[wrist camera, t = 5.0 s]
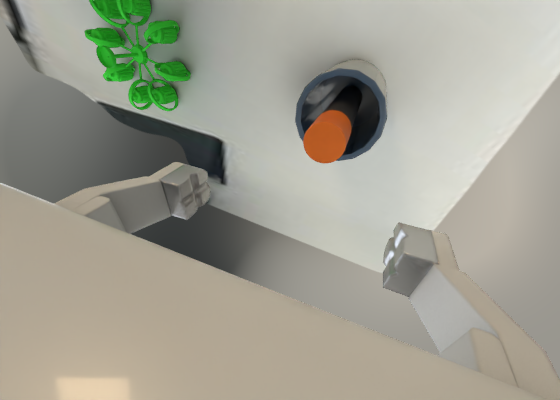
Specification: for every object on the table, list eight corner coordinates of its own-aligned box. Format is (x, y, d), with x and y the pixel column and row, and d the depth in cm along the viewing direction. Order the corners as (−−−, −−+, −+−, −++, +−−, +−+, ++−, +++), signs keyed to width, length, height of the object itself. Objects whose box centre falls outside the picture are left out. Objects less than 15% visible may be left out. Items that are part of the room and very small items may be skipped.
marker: (334, 109, 26) (300, 158, 16) (340, 83, 25) (305, 118, 14) (359, 113, 26) (340, 167, 15) (366, 86, 24) (351, 126, 14)
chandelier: (95, -42, 27) (26, -60, 22) (201, 8, 26) (155, 1, 21) (115, 85, 37) (71, 93, 32) (193, 126, 36) (160, 141, 31)
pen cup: (314, 124, 29) (292, 151, 22) (324, 56, 24) (300, 63, 18) (374, 134, 27) (370, 168, 20) (396, 63, 23) (401, 75, 16)
